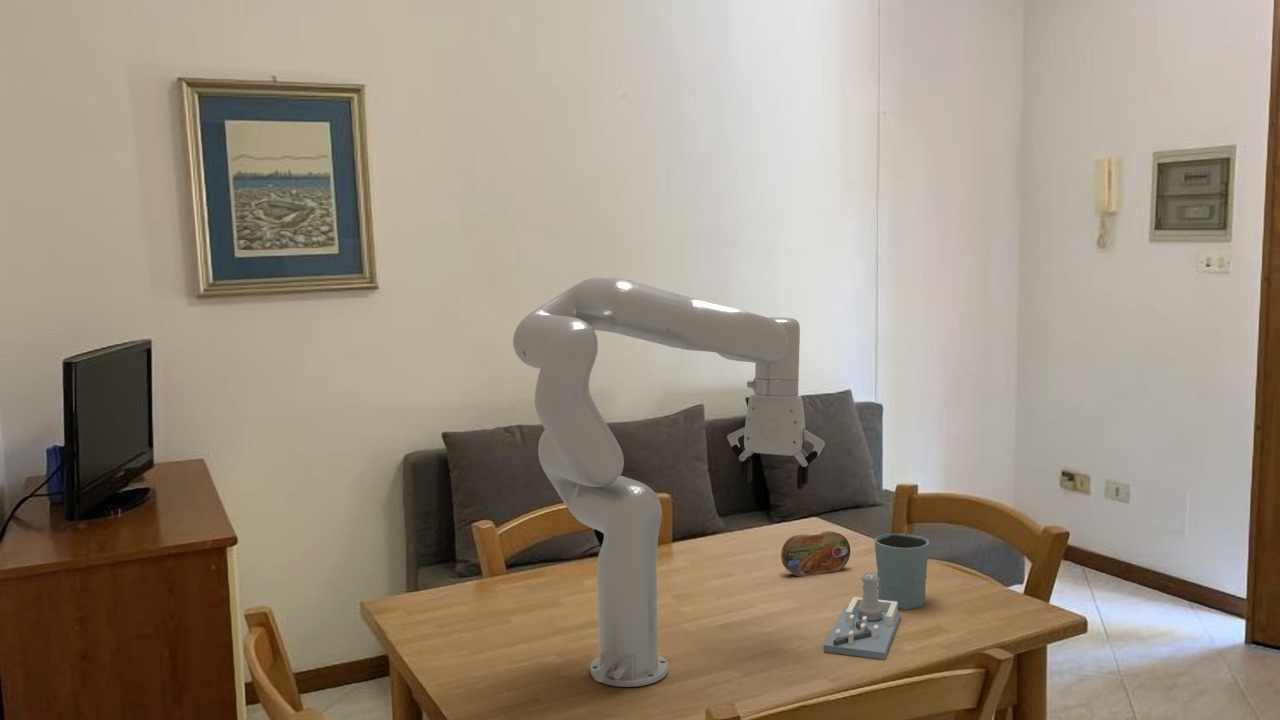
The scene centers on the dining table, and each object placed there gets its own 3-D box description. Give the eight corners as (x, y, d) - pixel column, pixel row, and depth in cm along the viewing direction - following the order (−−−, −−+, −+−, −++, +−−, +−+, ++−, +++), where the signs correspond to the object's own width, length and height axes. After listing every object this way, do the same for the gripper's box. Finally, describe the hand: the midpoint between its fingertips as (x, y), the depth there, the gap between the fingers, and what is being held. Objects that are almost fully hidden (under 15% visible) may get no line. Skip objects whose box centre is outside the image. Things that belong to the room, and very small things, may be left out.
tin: (785, 579, 211) (785, 538, 210) (779, 574, 214) (778, 534, 213) (851, 570, 215) (851, 531, 214) (843, 566, 218) (843, 527, 217)
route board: (884, 659, 169) (884, 642, 169) (823, 652, 173) (823, 634, 172) (900, 617, 188) (900, 601, 187) (845, 611, 191) (845, 596, 191)
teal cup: (890, 613, 190) (891, 550, 189) (864, 595, 200) (864, 535, 199) (939, 607, 193) (940, 544, 192) (911, 589, 203) (911, 530, 201)
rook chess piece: (864, 610, 188) (864, 568, 187) (887, 616, 185) (887, 573, 184) (853, 618, 185) (853, 575, 184) (876, 623, 182) (876, 579, 181)
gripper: (722, 387, 179) (720, 484, 181) (821, 393, 173) (818, 494, 174) (735, 383, 186) (733, 476, 188) (830, 389, 180) (827, 485, 181)
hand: (774, 485), depth 181 cm, fingers open, 9 cm apart
